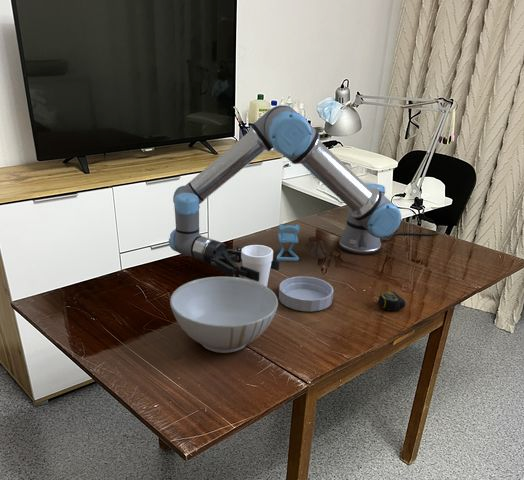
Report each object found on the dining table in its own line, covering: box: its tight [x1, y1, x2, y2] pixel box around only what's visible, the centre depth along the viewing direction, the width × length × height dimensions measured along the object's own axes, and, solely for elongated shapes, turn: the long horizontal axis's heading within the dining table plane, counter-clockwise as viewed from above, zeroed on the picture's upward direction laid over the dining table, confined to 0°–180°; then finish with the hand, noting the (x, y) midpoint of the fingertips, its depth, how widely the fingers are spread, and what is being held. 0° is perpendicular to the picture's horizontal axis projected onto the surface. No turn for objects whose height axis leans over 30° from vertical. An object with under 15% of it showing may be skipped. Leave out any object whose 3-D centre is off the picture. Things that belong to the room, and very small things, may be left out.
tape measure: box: [378, 291, 407, 311], centre depth 162 cm, size 7×7×4 cm
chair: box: [276, 223, 300, 262], centre depth 190 cm, size 8×8×12 cm
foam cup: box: [241, 244, 274, 287], centre depth 165 cm, size 10×9×13 cm
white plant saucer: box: [278, 275, 335, 312], centre depth 164 cm, size 16×16×4 cm
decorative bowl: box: [169, 276, 279, 354], centre depth 140 cm, size 27×27×12 cm
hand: (268, 271), depth 162 cm, fingers closed on foam cup, 9 cm apart
